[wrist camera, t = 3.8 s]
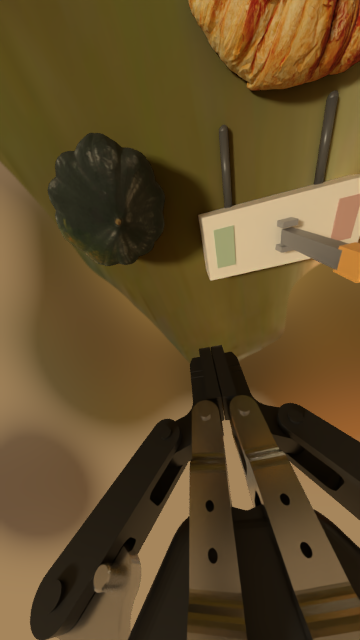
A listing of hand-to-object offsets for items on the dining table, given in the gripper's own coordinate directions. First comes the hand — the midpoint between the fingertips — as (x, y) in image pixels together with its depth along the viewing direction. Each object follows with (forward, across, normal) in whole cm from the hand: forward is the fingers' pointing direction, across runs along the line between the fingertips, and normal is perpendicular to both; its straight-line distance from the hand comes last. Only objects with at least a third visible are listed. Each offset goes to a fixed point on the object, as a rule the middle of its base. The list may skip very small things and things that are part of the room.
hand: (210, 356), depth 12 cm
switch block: (+27, -15, -5) cm, 31 cm away
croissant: (+28, -15, -22) cm, 38 cm away
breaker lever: (+22, -15, -1) cm, 26 cm away
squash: (+27, +9, -9) cm, 30 cm away
